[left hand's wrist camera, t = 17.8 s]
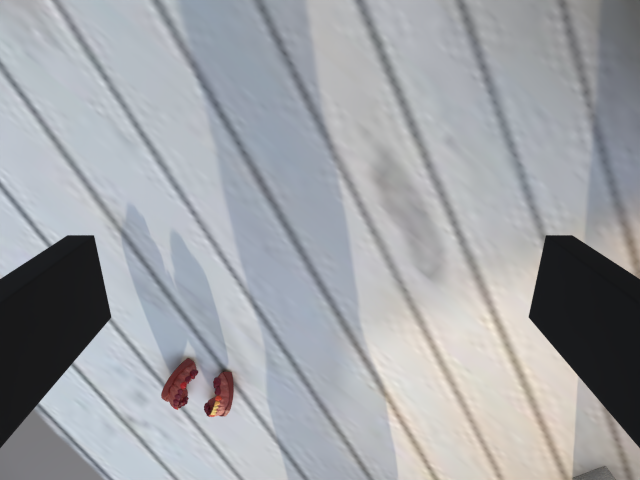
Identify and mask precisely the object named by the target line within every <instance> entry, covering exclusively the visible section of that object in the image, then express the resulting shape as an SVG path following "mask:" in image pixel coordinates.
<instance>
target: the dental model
mask: <svg viewBox="0 0 640 480" xmlns="http://www.w3.org/2000/svg"><path fill="white" fill-rule="evenodd" d="M197 373H198V371H197V370H196V366H195V363H194V361H192V360H190V359H189V358H187V359H186V360H185V361H184V362H183V363H181V364H180V365H179V367H178V368H177V369H176V370H175V371H174V372H173V374H172V375H171V376H170V378H169V379H168V381H167V382H166V384H165V386H164V388H163V391H162V395H161V396H162V399H163V400H165V401H167V402H168V401H169V402H170V404H171V406H172V407H173V408H174V409H177V410H178V408H181V407H182V406H185V404H187V402H188V399H189V398H188V397H187V396H188V392H187V389H186V385H187V384H188V383H189V382H190V381H191V379H195V376H196V375H197ZM213 383H214V388H216V389H215V390H216V391H215V394H216V395H217V396H216V397H214V398H212V399H210V400H208V403H206V404H205V406H204V410H205V412H206V414H207V416H209V417H214V416H218V415H219V416H226V415H227V414H228V413H229V411H230V409H231V405H232V400H233V377H232V372H223V373H221V374H220V375H219V376H218V377H216V378H215V379H214V381H213Z"/></svg>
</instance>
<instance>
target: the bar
mask: <svg viewBox="0 0 640 480" xmlns="http://www.w3.org/2000/svg"><path fill="white" fill-rule="evenodd" d="M572 479H573V480H616V479H615V478H614V477H613V475H612V474H611V473H610V471H609V470H608V469H607V467H606V466H604V467H601V468H598V469H595V470H593V471H590V472H587V473H585V474H582V475H579V476H576V477H574V478H572Z"/></svg>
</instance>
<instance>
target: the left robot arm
mask: <svg viewBox="0 0 640 480" xmlns="http://www.w3.org/2000/svg"><path fill="white" fill-rule="evenodd" d="M110 318H111V313H110V309H109V304H108V299H107V295H106V290H105V285H104V280H103V276H102V271H101V266H100V261H99V257H98V252H97V247H96V243H95V238H94V235H68V236H66V237H64V238H63V239H61V240H60V241H58V242H57V243H55V244H54V245H52V246H51V247H49V248H48V249H46V250H44V251H43V252H41V253H40V254H38V255H37V256H35V257H34V258H32V259H31V260H29V261H28V262H26V263H24V264H23V265H21V266H20V267H18V268H17V269H15V270H14V271H12V272H11V273H9V274H8V275H6V276H4V277H3V278H1V279H0V448H1V447H2V445H3V444H4V443H5V442H6V441H7V439H8V438H9V437H10V436H11V435H12V434H13V432H14V431H15V430H16V429H17V428H18V427H19V425H20V424H21V423H22V422H23V421H24V419H25V418H26V417H27V416H28V415H29V414H30V412H31V411H32V410H33V409H34V408H35V407H36V405H37V404H38V403H39V402H40V401H41V399H42V398H43V397H44V396H45V395H46V394H47V392H48V391H49V390H50V389H51V388H52V387H53V385H54V384H55V383H56V382H57V381H58V379H59V378H60V377H61V376H62V375H63V374H64V372H65V371H66V370H67V369H68V368H69V367H70V365H71V364H72V363H73V362H74V361H75V359H76V358H77V357H78V356H79V355H80V354H81V352H82V351H83V350H84V349H85V348H86V346H87V345H88V344H89V343H90V342H91V341H92V339H93V338H94V337H95V336H96V335H97V334H98V332H99V331H100V330H101V329H102V328H103V326H104V325H105V324H106V323H107V322H108V321H109V319H110ZM529 318H530V319H531V321H532V322H533V323H534V324H535V325H536V326H537V328H538V329H539V330H540V331H541V332H542V334H543V335H544V336H545V337H546V338H547V339H548V341H549V342H550V343H551V344H552V345H553V346H554V348H555V349H556V350H557V351H558V352H559V354H560V355H561V356H562V357H563V358H564V359H565V361H566V362H567V363H568V364H569V365H570V367H571V368H572V369H573V370H574V371H575V372H576V374H577V375H578V376H579V377H580V378H581V379H582V381H583V382H584V383H585V384H586V385H587V387H588V388H589V389H590V390H591V391H592V392H593V394H594V395H595V396H596V397H597V398H598V399H599V401H600V402H601V403H602V404H603V405H604V407H605V408H606V409H607V410H608V411H609V412H610V414H611V415H612V416H613V417H614V418H615V419H616V421H617V422H618V423H619V424H620V425H621V427H622V428H623V429H624V430H625V431H626V432H627V434H628V435H629V436H630V437H631V438H632V440H633V441H634V442H635V443H636V444H637V445H638V447H639V448H640V279H639V278H637V277H636V276H634V275H632V274H631V273H629V272H628V271H626V270H625V269H623V268H622V267H620V266H619V265H617V264H616V263H614V262H612V261H611V260H609V259H608V258H606V257H605V256H603V255H602V254H600V253H599V252H597V251H596V250H594V249H592V248H591V247H589V246H588V245H586V244H585V243H583V242H582V241H580V240H579V239H577V238H575V237H574V236H572V235H546V238H545V243H544V247H543V252H542V257H541V261H540V266H539V271H538V276H537V280H536V285H535V290H534V295H533V299H532V304H531V309H530V313H529Z"/></svg>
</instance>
